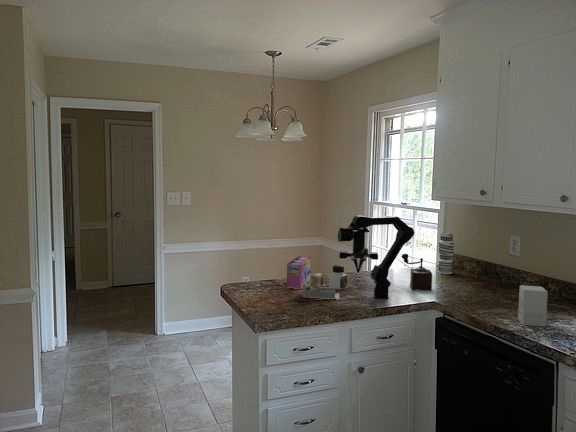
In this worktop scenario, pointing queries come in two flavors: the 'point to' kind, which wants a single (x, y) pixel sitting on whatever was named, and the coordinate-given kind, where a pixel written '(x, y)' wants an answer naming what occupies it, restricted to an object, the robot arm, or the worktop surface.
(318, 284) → the beige cube with disc
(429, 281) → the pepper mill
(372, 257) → the robot arm
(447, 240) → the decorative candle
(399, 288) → the worktop surface
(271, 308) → the worktop surface
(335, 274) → the medicine bottle
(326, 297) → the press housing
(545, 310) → the supplement box
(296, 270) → the gum box
